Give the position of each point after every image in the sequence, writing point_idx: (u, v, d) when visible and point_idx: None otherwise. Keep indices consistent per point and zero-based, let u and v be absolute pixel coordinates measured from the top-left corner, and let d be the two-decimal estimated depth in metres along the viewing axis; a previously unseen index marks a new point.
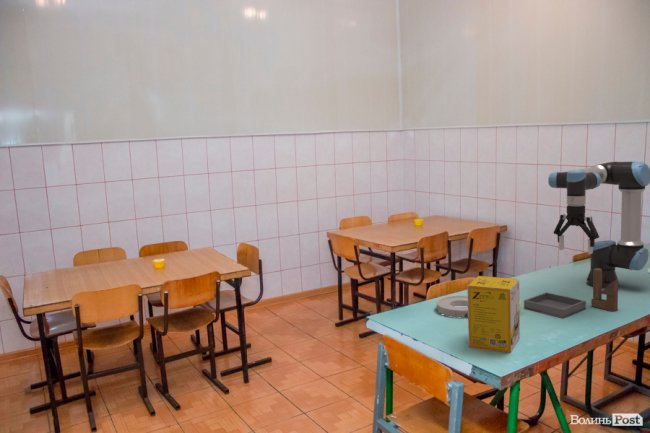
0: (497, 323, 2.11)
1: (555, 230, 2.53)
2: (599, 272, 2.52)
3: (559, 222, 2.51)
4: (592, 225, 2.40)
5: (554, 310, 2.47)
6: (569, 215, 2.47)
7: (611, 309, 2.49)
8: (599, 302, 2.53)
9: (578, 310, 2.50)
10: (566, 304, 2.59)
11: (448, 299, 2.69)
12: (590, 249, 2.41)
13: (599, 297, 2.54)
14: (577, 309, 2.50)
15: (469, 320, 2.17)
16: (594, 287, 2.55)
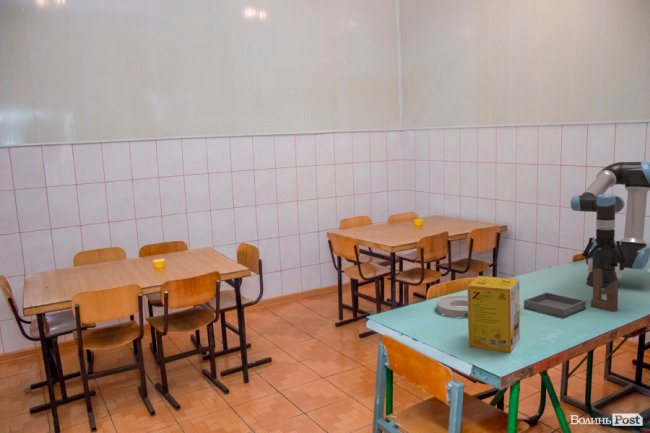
0: (497, 323, 2.11)
1: (584, 253, 2.57)
2: (599, 272, 2.52)
3: (588, 245, 2.55)
4: (622, 249, 2.43)
5: (554, 310, 2.47)
6: (598, 238, 2.50)
7: (611, 309, 2.49)
8: (599, 302, 2.53)
9: (578, 310, 2.50)
10: (566, 304, 2.59)
11: (448, 299, 2.69)
12: (620, 272, 2.45)
13: (599, 297, 2.54)
14: (577, 309, 2.50)
15: (469, 320, 2.17)
16: (594, 287, 2.55)
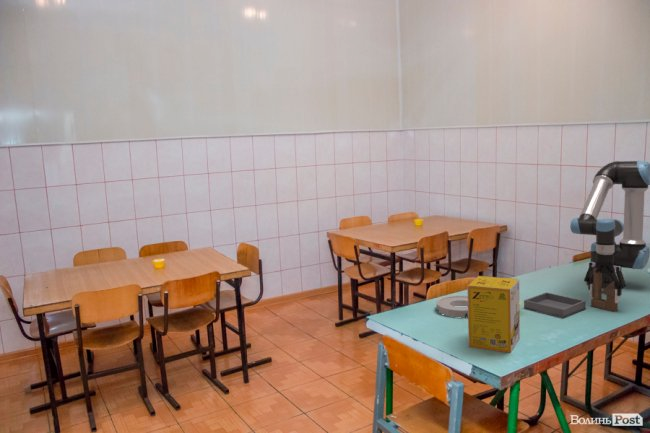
0: (497, 323, 2.11)
1: (585, 278, 2.58)
2: (599, 272, 2.52)
3: (589, 270, 2.56)
4: (621, 274, 2.46)
5: (554, 310, 2.47)
6: (598, 262, 2.52)
7: (611, 309, 2.49)
8: (599, 302, 2.53)
9: (578, 310, 2.50)
10: (566, 304, 2.59)
11: (448, 299, 2.69)
12: (617, 298, 2.48)
13: (599, 297, 2.54)
14: (577, 309, 2.50)
15: (469, 320, 2.17)
16: (594, 287, 2.55)
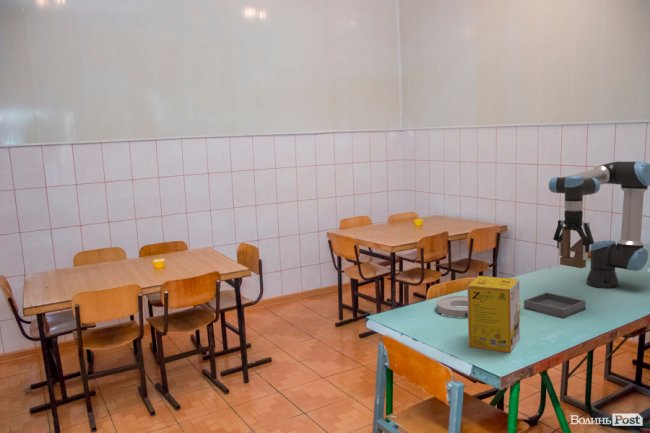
0: (497, 323, 2.11)
1: (554, 236, 2.56)
2: (568, 229, 2.51)
3: (557, 228, 2.55)
4: (589, 231, 2.44)
5: (554, 310, 2.47)
6: (567, 220, 2.51)
7: (579, 266, 2.48)
8: (567, 260, 2.52)
9: (578, 310, 2.50)
10: (566, 304, 2.59)
11: (448, 299, 2.69)
12: (585, 255, 2.46)
13: (568, 255, 2.53)
14: (577, 309, 2.50)
15: (469, 320, 2.17)
16: (563, 245, 2.53)
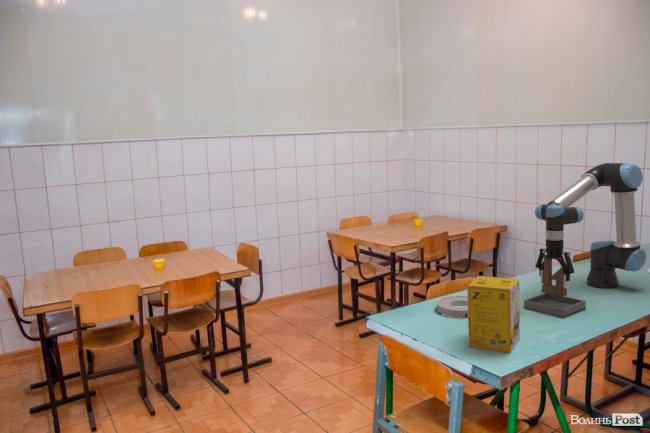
0: (497, 323, 2.11)
1: (537, 264, 2.60)
2: (549, 258, 2.54)
3: (539, 256, 2.58)
4: (569, 260, 2.48)
5: (554, 310, 2.47)
6: (548, 248, 2.54)
7: (560, 294, 2.51)
8: (549, 288, 2.55)
9: (578, 310, 2.50)
10: (566, 304, 2.59)
11: (448, 299, 2.69)
12: (566, 283, 2.50)
13: (549, 283, 2.56)
14: (577, 309, 2.50)
15: (469, 320, 2.17)
16: (544, 273, 2.57)
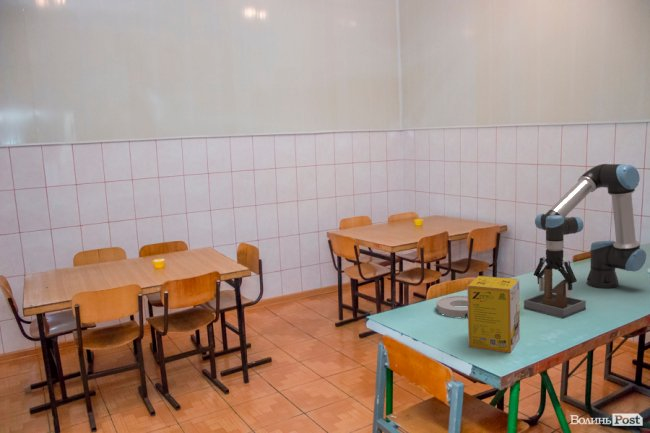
0: (497, 323, 2.11)
1: (535, 272, 2.61)
2: (549, 271, 2.55)
3: (539, 265, 2.59)
4: (570, 269, 2.48)
5: (554, 310, 2.47)
6: (548, 258, 2.55)
7: None
8: (549, 301, 2.56)
9: (578, 310, 2.50)
10: None
11: (448, 299, 2.69)
12: (568, 292, 2.49)
13: (550, 296, 2.57)
14: (577, 309, 2.50)
15: (469, 320, 2.17)
16: (545, 286, 2.58)
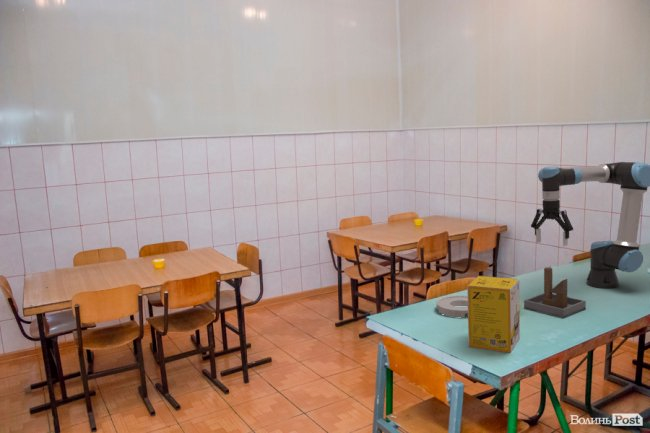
0: (497, 323, 2.11)
1: (532, 224, 2.67)
2: (549, 271, 2.55)
3: (536, 216, 2.65)
4: (567, 218, 2.54)
5: (554, 310, 2.47)
6: (545, 209, 2.61)
7: None
8: (549, 301, 2.56)
9: (578, 310, 2.50)
10: None
11: (448, 299, 2.69)
12: (565, 241, 2.56)
13: (550, 296, 2.57)
14: (577, 309, 2.50)
15: (469, 320, 2.17)
16: (545, 286, 2.58)
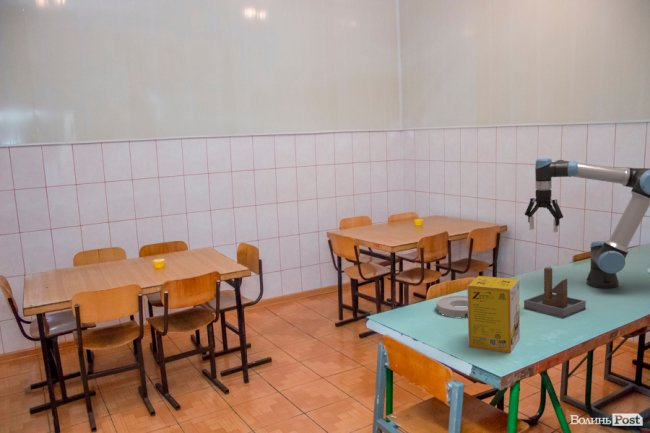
0: (497, 323, 2.11)
1: (526, 212, 2.86)
2: (549, 271, 2.55)
3: (529, 205, 2.84)
4: (557, 206, 2.73)
5: (554, 310, 2.47)
6: (538, 198, 2.80)
7: None
8: (549, 301, 2.56)
9: (578, 310, 2.50)
10: None
11: (448, 299, 2.69)
12: (555, 228, 2.75)
13: (550, 296, 2.57)
14: (577, 309, 2.50)
15: (469, 320, 2.17)
16: (545, 286, 2.58)
